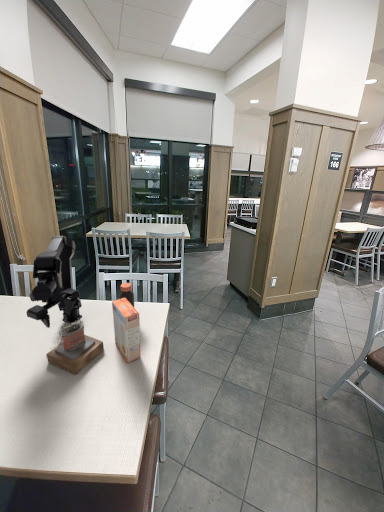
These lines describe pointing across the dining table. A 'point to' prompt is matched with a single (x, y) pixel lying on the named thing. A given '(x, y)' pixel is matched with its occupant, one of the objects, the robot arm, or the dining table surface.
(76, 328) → the lighter
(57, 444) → the dining table surface
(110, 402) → the dining table surface
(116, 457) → the dining table surface
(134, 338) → the cracker box
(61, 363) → the walnut base
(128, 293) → the bottle
